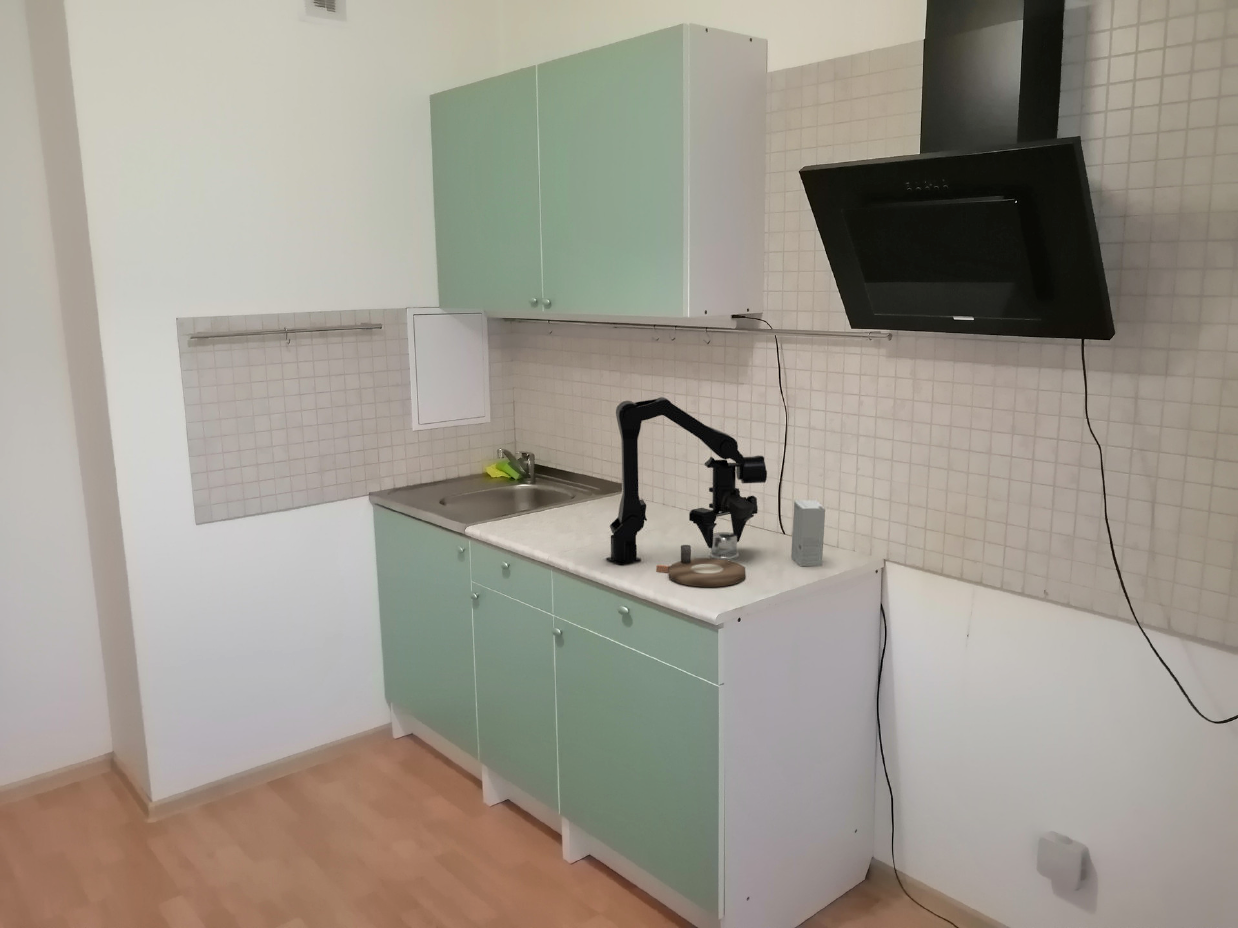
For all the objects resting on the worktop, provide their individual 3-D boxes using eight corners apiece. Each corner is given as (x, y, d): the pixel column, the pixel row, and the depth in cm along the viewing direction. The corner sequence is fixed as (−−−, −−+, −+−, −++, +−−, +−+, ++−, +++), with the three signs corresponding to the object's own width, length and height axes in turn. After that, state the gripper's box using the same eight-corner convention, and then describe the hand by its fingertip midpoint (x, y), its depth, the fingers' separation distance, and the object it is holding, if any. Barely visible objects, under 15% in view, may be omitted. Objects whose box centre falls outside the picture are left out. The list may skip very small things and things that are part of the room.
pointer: (656, 571, 234) (656, 565, 234) (657, 570, 235) (657, 564, 235) (668, 572, 233) (668, 566, 233) (669, 571, 234) (669, 565, 233)
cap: (703, 555, 247) (703, 534, 246) (724, 551, 251) (724, 530, 250) (723, 562, 242) (723, 540, 240) (744, 556, 246) (744, 535, 245)
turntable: (653, 573, 231) (652, 551, 230) (709, 560, 242) (709, 538, 241) (704, 591, 217) (704, 567, 216) (761, 576, 228) (761, 553, 227)
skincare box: (790, 557, 244) (791, 499, 241) (814, 556, 245) (815, 498, 242) (800, 567, 236) (801, 507, 233) (824, 566, 236) (825, 506, 234)
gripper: (718, 494, 231) (718, 558, 234) (773, 484, 242) (773, 544, 245) (687, 487, 240) (687, 548, 243) (742, 477, 251) (741, 536, 254)
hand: (723, 544), depth 246 cm, fingers open, 9 cm apart
